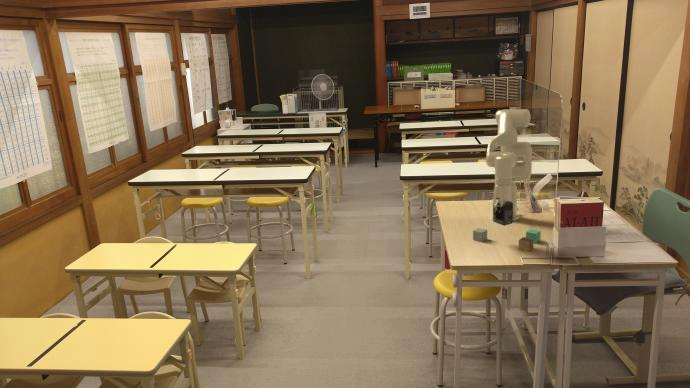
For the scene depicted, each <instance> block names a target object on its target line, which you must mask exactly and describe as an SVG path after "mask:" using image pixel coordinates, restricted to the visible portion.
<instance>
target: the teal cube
mask: <svg viewBox="0 0 690 388" xmlns="http://www.w3.org/2000/svg"><path fill="white" fill-rule="evenodd" d="M525 237H526V238H531V239H534V244H537V243H539V242H540V241H541V230H538V229H533V228H530V229H528V230H527V231H526V232H525Z"/></svg>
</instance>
